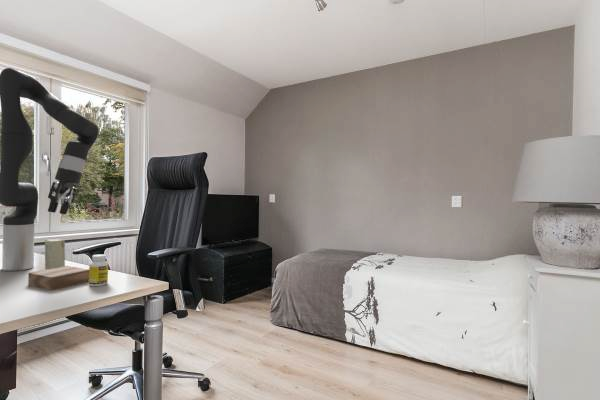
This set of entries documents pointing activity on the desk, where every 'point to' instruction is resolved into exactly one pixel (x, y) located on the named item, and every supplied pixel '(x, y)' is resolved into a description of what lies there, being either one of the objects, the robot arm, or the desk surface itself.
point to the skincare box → (54, 253)
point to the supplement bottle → (98, 270)
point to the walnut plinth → (58, 277)
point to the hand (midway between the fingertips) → (57, 213)
